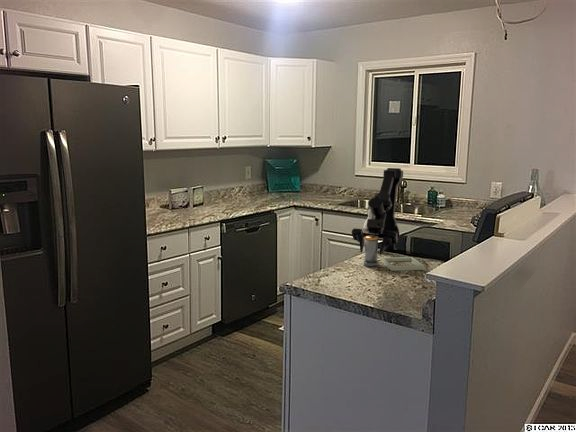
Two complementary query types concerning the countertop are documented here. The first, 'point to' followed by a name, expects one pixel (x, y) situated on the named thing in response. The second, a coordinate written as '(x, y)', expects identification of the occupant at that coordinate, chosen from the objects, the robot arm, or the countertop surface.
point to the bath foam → (366, 227)
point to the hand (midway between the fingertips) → (370, 253)
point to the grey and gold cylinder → (371, 251)
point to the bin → (392, 268)
